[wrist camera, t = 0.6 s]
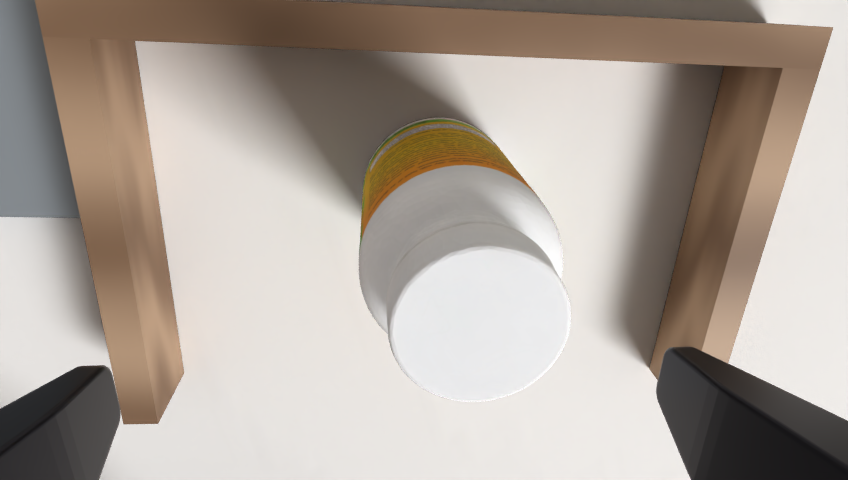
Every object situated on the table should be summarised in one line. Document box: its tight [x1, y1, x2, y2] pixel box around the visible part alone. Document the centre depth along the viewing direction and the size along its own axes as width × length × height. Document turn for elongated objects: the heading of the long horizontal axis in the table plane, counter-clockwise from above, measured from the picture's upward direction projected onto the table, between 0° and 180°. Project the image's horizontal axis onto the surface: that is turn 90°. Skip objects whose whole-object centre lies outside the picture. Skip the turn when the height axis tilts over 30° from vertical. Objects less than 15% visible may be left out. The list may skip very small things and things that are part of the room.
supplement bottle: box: [359, 118, 571, 402], centre depth 16 cm, size 5×5×10 cm
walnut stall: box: [35, 0, 833, 424], centre depth 20 cm, size 14×22×3 cm, turn 87°
